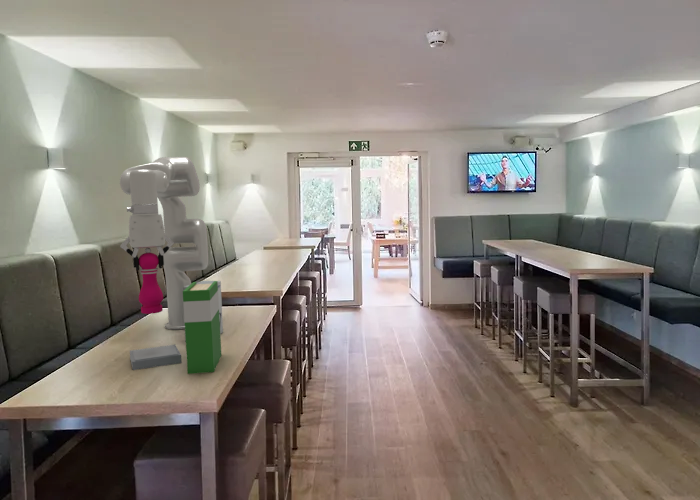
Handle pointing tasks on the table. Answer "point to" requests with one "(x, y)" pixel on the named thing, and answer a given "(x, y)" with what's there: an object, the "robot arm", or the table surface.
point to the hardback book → (202, 327)
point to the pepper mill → (150, 284)
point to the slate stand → (154, 357)
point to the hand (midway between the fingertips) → (149, 268)
